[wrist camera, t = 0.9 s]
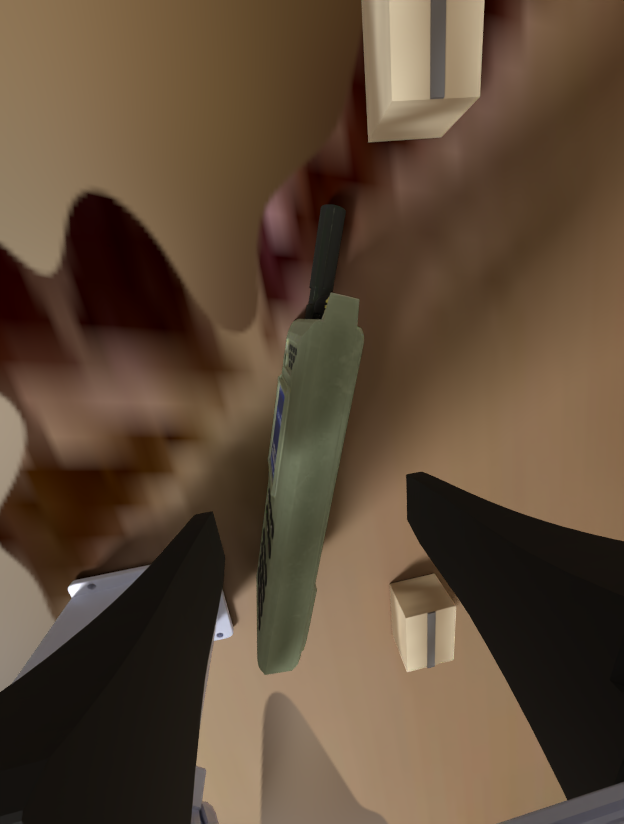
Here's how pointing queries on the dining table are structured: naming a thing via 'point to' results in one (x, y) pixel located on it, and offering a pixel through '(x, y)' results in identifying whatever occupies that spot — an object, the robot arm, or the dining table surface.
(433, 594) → the taped cardboard parcel
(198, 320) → the dining table surface
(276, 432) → the handheld radio
